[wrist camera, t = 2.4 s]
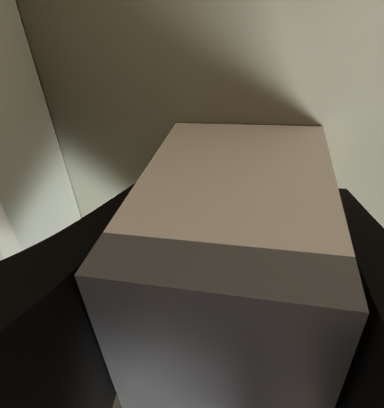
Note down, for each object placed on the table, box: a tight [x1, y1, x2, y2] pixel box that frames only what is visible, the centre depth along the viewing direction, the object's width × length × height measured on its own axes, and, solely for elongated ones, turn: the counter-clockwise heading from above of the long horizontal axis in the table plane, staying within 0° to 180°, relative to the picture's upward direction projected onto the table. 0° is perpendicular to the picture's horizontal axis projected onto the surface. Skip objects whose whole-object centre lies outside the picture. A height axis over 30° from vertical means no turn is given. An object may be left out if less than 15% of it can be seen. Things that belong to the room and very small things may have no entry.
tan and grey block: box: [74, 123, 369, 408], centre depth 8 cm, size 4×4×6 cm
